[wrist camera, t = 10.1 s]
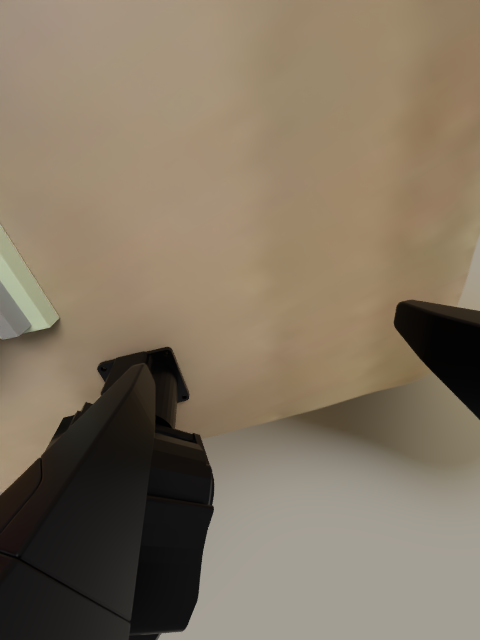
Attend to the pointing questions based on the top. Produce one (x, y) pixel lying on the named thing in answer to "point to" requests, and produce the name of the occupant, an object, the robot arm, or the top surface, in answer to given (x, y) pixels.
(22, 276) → the pale green tray
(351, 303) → the top surface
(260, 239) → the top surface
